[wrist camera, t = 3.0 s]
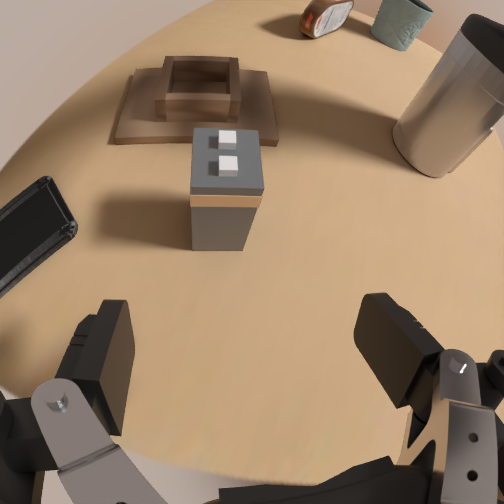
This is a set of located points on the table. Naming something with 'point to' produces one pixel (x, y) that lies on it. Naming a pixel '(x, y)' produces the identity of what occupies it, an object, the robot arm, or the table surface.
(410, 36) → the teal embossed cup
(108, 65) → the table surface
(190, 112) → the dock
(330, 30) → the tin
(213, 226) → the cell
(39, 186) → the phone
